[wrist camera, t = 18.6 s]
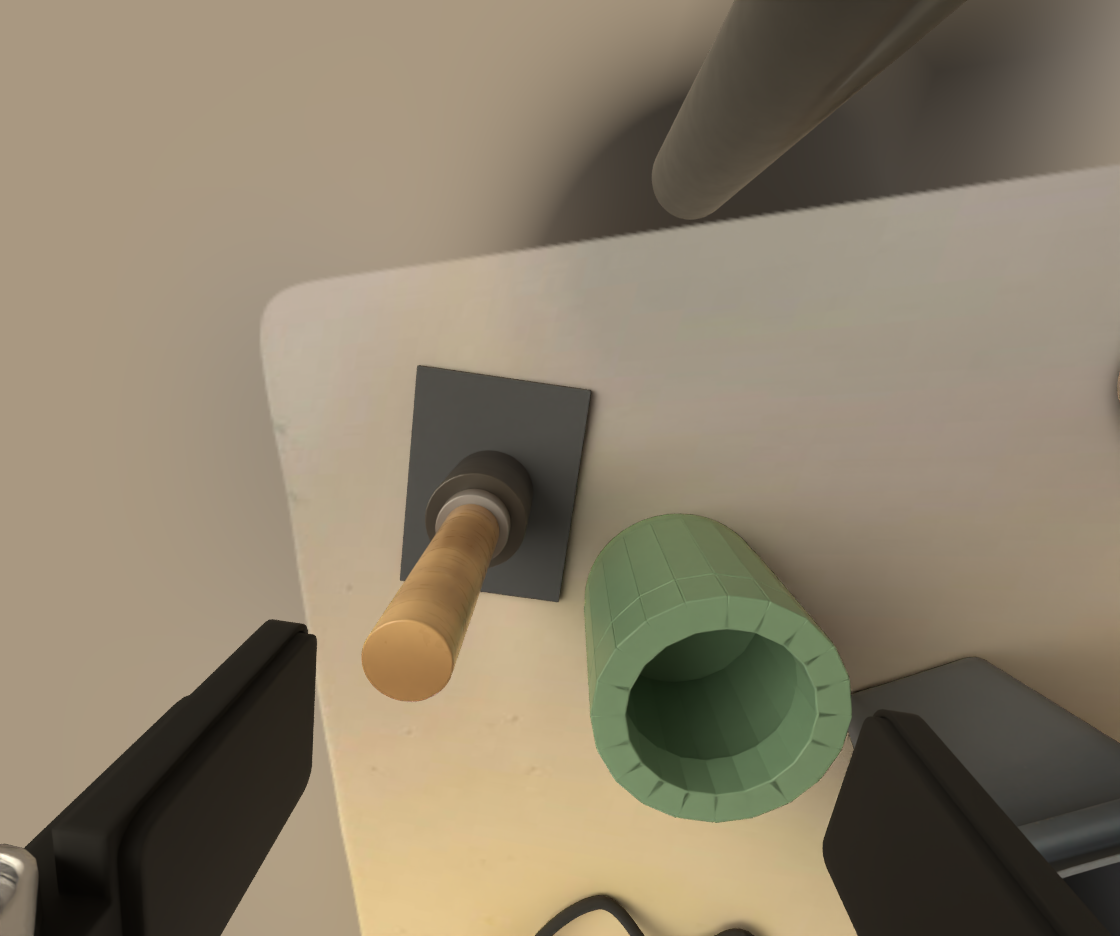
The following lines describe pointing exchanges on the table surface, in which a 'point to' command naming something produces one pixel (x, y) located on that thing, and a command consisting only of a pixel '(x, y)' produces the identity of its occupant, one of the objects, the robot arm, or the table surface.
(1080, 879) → the storage bin
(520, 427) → the mat
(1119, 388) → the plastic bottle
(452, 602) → the brush
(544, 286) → the table surface
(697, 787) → the jar
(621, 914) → the cable
